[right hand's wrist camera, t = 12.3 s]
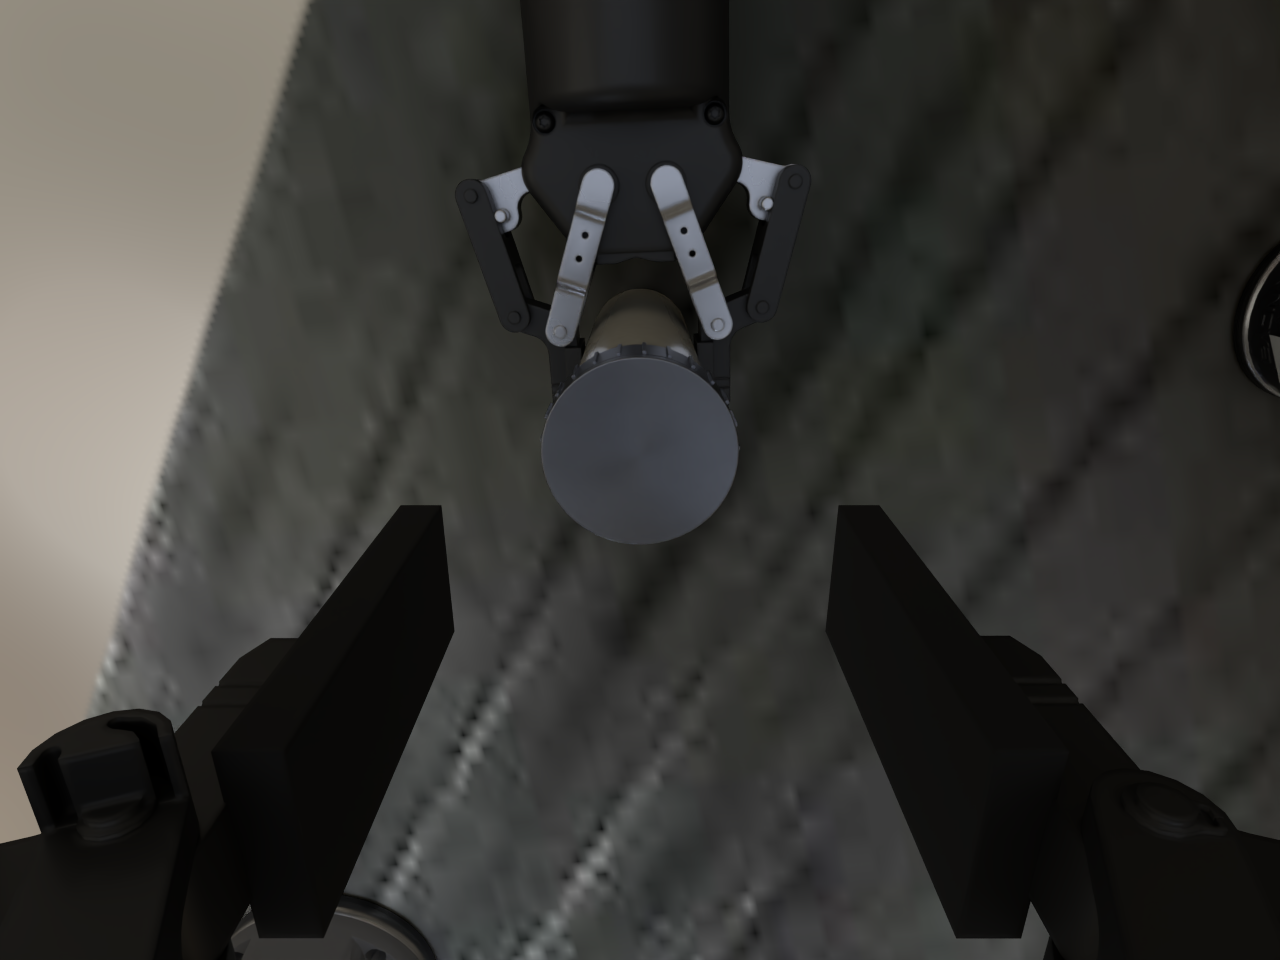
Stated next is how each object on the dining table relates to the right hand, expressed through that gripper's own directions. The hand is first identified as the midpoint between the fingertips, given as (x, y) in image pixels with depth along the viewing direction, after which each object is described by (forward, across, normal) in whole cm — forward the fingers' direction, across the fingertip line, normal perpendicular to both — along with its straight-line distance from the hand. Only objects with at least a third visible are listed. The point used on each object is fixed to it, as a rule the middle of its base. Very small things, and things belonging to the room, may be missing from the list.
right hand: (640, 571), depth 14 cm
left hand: (+19, 0, -3) cm, 19 cm away
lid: (+7, 0, 0) cm, 7 cm away
